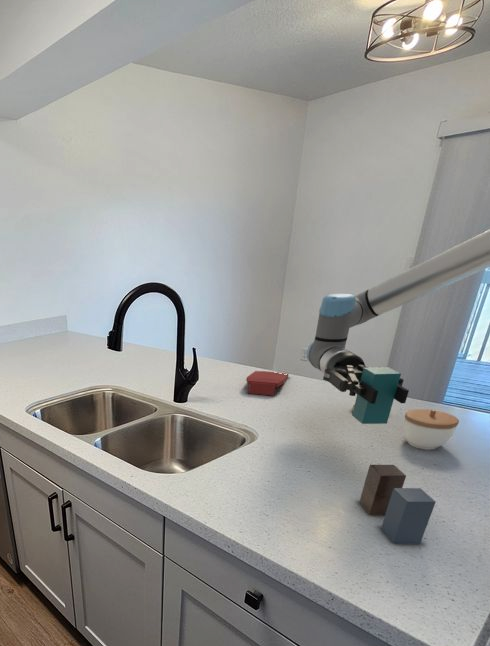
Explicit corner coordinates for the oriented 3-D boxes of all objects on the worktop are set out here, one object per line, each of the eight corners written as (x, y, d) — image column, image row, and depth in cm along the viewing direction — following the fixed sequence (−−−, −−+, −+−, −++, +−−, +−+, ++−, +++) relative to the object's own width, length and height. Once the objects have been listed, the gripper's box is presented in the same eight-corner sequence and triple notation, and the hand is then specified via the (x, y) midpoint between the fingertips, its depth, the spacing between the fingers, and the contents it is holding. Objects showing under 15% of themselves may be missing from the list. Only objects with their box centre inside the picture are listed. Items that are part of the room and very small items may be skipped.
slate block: (406, 529, 81) (420, 488, 77) (420, 544, 77) (436, 501, 73) (380, 528, 82) (393, 487, 78) (393, 543, 78) (407, 501, 74)
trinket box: (423, 456, 106) (435, 420, 101) (387, 439, 115) (396, 405, 111) (459, 450, 107) (473, 415, 103) (421, 433, 117) (432, 400, 113)
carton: (253, 383, 174) (242, 392, 153) (255, 370, 172) (244, 378, 151) (286, 386, 168) (279, 396, 147) (288, 373, 166) (281, 382, 146)
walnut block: (382, 502, 89) (393, 464, 85) (393, 515, 85) (406, 475, 81) (358, 502, 90) (369, 464, 86) (369, 515, 86) (380, 475, 82)
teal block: (375, 415, 97) (388, 367, 92) (386, 423, 93) (401, 373, 88) (351, 415, 98) (363, 367, 93) (362, 423, 94) (374, 374, 89)
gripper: (376, 380, 109) (432, 414, 88) (301, 381, 111) (338, 415, 90) (384, 350, 105) (444, 378, 85) (306, 352, 108) (346, 380, 87)
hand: (389, 397), depth 88 cm, fingers closed on teal block, 5 cm apart
